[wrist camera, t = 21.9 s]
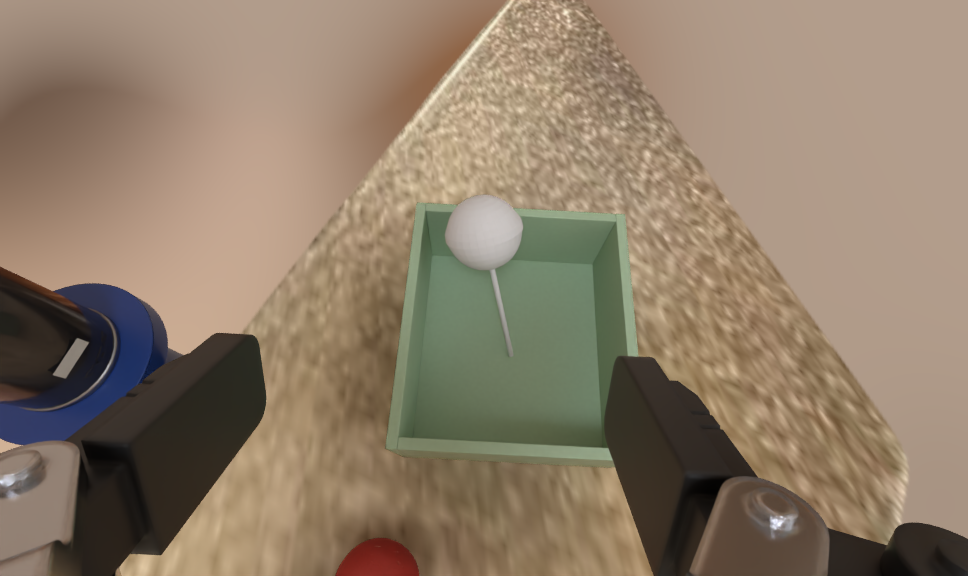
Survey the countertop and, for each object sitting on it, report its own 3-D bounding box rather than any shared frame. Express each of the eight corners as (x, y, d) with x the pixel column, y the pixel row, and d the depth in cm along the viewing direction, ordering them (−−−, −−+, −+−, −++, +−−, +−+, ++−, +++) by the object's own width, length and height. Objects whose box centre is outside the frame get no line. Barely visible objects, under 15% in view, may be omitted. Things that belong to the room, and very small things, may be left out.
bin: (402, 457, 38) (384, 448, 30) (425, 252, 46) (416, 202, 38) (609, 467, 38) (648, 462, 30) (597, 262, 46) (625, 214, 38)
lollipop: (473, 379, 39) (427, 216, 32) (482, 339, 44) (445, 191, 37) (544, 374, 38) (513, 203, 31) (545, 333, 43) (519, 178, 36)
